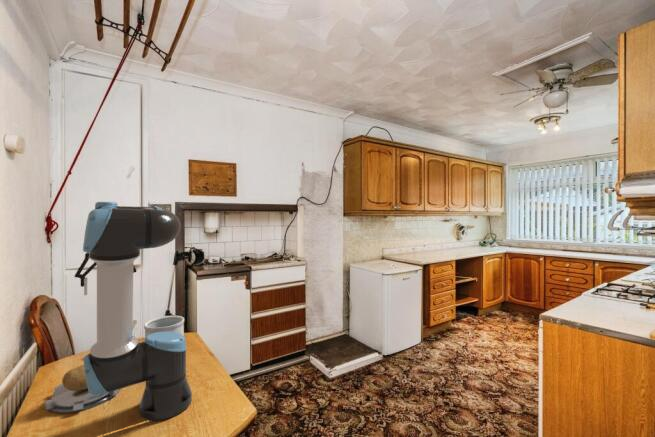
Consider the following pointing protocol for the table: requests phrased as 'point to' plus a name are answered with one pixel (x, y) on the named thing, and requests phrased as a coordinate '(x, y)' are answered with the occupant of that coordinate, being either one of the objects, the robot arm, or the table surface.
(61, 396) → the sprocket
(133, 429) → the table surface
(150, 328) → the utensil holder
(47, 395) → the table surface
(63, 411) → the base plate
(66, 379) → the potato
